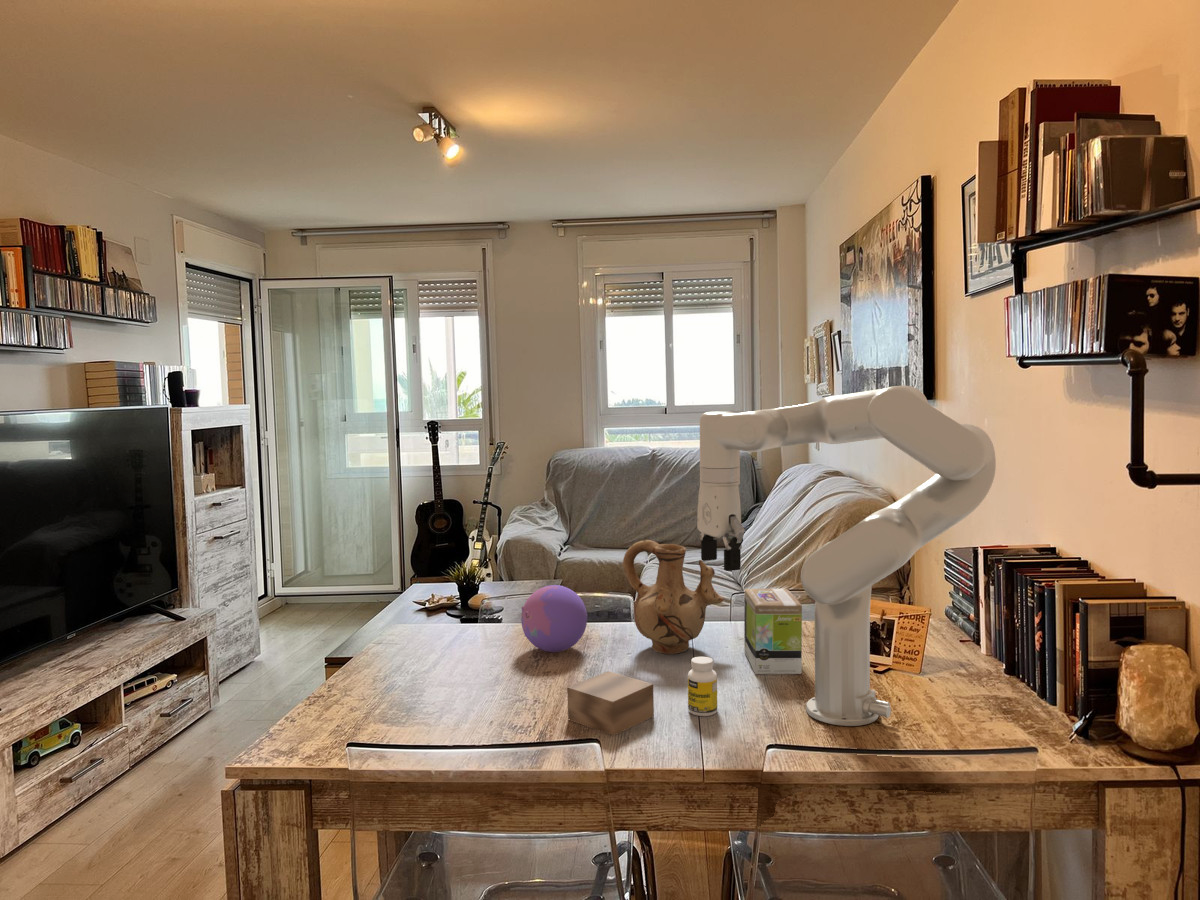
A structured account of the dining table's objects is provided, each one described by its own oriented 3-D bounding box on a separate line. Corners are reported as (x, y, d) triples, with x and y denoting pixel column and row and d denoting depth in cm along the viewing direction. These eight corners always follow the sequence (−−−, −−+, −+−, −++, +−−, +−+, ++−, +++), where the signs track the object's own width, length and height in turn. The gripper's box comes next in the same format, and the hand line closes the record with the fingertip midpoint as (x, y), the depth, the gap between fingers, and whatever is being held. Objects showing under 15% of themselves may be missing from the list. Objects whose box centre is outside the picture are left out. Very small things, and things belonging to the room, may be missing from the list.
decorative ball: (513, 646, 194) (511, 583, 193) (572, 637, 201) (570, 575, 200) (535, 665, 181) (533, 597, 180) (598, 654, 187) (596, 588, 186)
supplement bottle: (683, 714, 152) (682, 662, 151) (694, 704, 157) (693, 653, 156) (711, 719, 149) (710, 666, 149) (721, 708, 154) (720, 657, 153)
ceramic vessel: (664, 667, 177) (662, 551, 175) (610, 646, 193) (608, 539, 191) (725, 650, 188) (725, 541, 186) (670, 631, 203) (669, 530, 201)
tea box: (803, 675, 171) (803, 604, 170) (754, 675, 171) (753, 605, 170) (788, 651, 186) (788, 586, 185) (743, 652, 186) (742, 587, 185)
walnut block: (653, 716, 151) (653, 683, 151) (613, 735, 143) (612, 701, 143) (608, 701, 159) (608, 671, 158) (568, 719, 151) (567, 687, 150)
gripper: (683, 473, 166) (683, 557, 167) (722, 482, 149) (723, 576, 151) (717, 471, 168) (717, 554, 170) (759, 480, 152) (760, 572, 153)
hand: (720, 564), depth 160 cm, fingers open, 9 cm apart
